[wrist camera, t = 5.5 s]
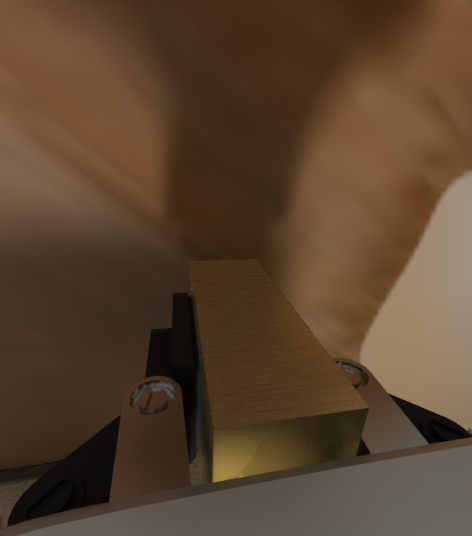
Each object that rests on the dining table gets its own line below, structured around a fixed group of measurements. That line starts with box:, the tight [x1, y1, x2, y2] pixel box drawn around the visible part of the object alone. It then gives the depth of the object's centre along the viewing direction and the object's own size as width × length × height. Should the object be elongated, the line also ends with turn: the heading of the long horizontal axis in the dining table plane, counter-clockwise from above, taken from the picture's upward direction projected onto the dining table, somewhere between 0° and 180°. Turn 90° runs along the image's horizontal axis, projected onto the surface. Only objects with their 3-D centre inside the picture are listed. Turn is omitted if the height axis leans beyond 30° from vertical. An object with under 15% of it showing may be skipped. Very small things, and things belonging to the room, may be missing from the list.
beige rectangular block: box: [190, 259, 369, 484], centre depth 9 cm, size 2×5×7 cm, turn 177°
